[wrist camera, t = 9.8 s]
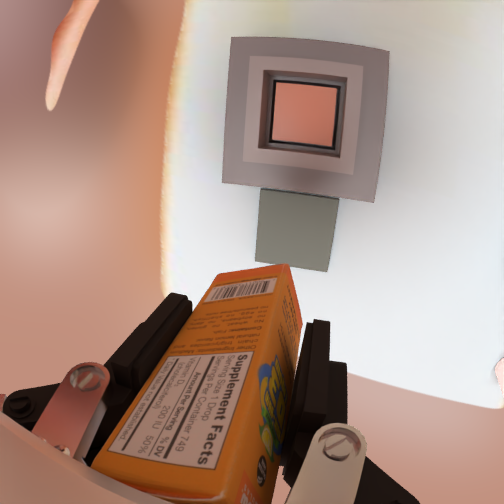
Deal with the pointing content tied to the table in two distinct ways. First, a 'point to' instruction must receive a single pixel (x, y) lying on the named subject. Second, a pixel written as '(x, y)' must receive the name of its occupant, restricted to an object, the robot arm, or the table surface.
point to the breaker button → (304, 113)
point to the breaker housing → (296, 153)
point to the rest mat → (295, 229)
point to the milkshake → (500, 374)
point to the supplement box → (215, 398)
